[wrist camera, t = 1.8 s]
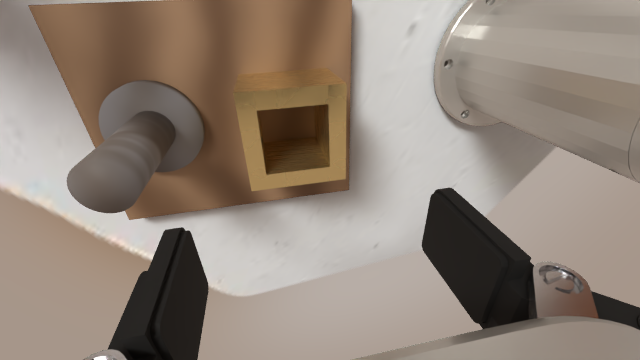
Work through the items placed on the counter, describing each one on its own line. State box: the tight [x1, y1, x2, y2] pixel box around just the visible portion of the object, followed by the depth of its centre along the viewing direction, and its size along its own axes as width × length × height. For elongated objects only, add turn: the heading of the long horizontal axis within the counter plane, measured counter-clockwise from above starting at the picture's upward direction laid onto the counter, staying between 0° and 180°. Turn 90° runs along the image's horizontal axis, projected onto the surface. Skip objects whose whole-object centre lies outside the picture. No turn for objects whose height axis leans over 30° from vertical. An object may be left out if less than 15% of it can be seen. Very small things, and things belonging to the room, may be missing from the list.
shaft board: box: [28, 0, 352, 220], centre depth 21 cm, size 21×17×11 cm
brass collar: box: [233, 68, 347, 191], centre depth 22 cm, size 7×7×6 cm
